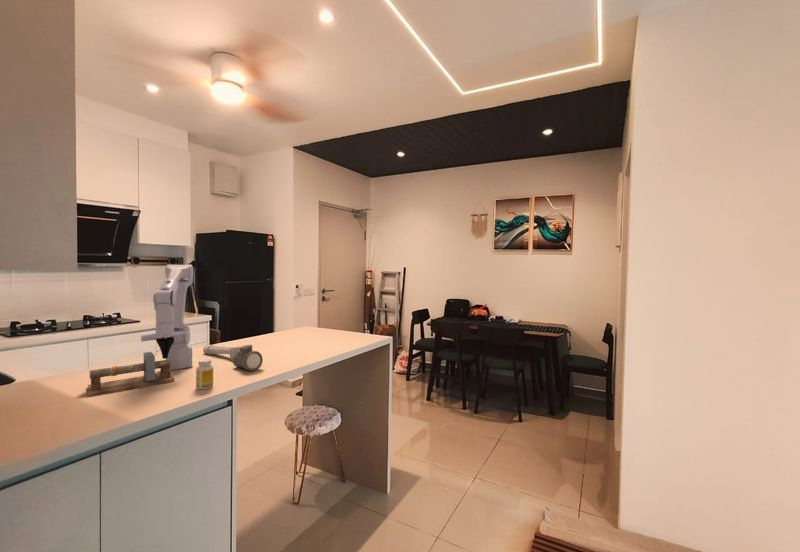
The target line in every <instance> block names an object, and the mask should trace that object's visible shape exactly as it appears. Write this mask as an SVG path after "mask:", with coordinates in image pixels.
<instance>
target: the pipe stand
mask: <svg viewBox="0 0 800 552" xmlns="http://www.w3.org/2000/svg"><path fill="white" fill-rule="evenodd" d="M170 366H171V362H170V359H169V360H166V359H163V360H155V370H158V369H160V372H159V373H155V380H152V381H146V379H145V377H144V375H143V376H141V375H140V376H137V377H135V376H134V377H130V378H124V379H123V378H122V379H116V380H112V381H111V380H110V381H104V382H101V381H102V380H101V378H104V377H115V376H118V375H126V374H133V373H138V372H144V371H146V363H144V362H143V363H134V364H125V365H119V366H116V365H115V366H110V367H106V368H100V369H99V368H98V369H92V370H89V380H90V384H87V397H95V396H100V395H105V394H111V393H115V392H116V393H117V392H122V391H123V392H124V391H128V390H134V389H140V388H145V387H146V388H147V387H150V386H151V387H153V386H156V385H157V386H158V385H163V384H167V383H174V382H175V378H174V376H172V374H171V370H170Z"/></svg>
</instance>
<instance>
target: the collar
mask: <svg viewBox="0 0 800 552" xmlns="http://www.w3.org/2000/svg"><path fill="white" fill-rule="evenodd" d="M155 361H156V356H155V354H154V353H153V352H152V351H148V352H147V351H146V352H143V363H146V371H143V376H144V377H145V379H146V381H152V380H155V374H156V369H155Z"/></svg>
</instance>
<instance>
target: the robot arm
mask: <svg viewBox="0 0 800 552" xmlns="http://www.w3.org/2000/svg"><path fill="white" fill-rule="evenodd" d="M164 275H165V277H166V279H165V280H164V281H162V284H161V285H160V287H159V289H158V290H156V291H155V292H153V295H152V303H153V304H154V305H153V306H154V307H153V309H154V311H155V333H151V334H145V335H143V334H142V335H141V336H140V341H141V342H143V343H144V342H147V341H155V342H156V344H157V345H158V348H159V350H160V351H161V356H162V359H163V360H169V359H170V362H171V366H170V371H173V370H180V369H187V368H192V367H193V347H192V345H191V344H190V341H191V329H190V326H189V325H187V324H186V323H184V319H185V309H186V298H187V292H188V288H189V287H190V286H192V285H193V282H194V281H193V280H194V267H193V265H192V264H170V263H169V264H166V265H165V268H164Z"/></svg>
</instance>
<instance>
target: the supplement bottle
mask: <svg viewBox="0 0 800 552" xmlns="http://www.w3.org/2000/svg"><path fill="white" fill-rule="evenodd" d="M213 386H214V366H213V365H212V359H211V358H204V359H199V360H198V366H197V367H196V369H195V388H196V389H197V390H206V389H211V388H213Z"/></svg>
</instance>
